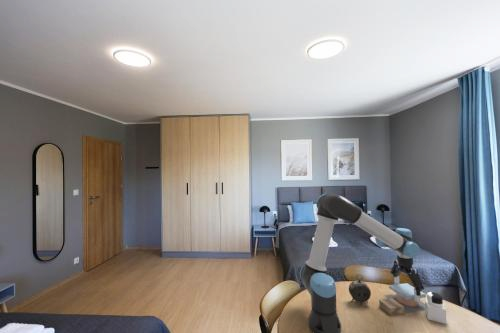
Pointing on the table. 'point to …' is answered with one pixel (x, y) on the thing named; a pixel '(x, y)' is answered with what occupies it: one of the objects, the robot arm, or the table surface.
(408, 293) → the cover board
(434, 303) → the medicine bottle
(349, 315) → the table surface
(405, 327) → the table surface
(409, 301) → the bowl
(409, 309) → the placemat
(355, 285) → the alarm clock
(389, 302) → the cork riser
